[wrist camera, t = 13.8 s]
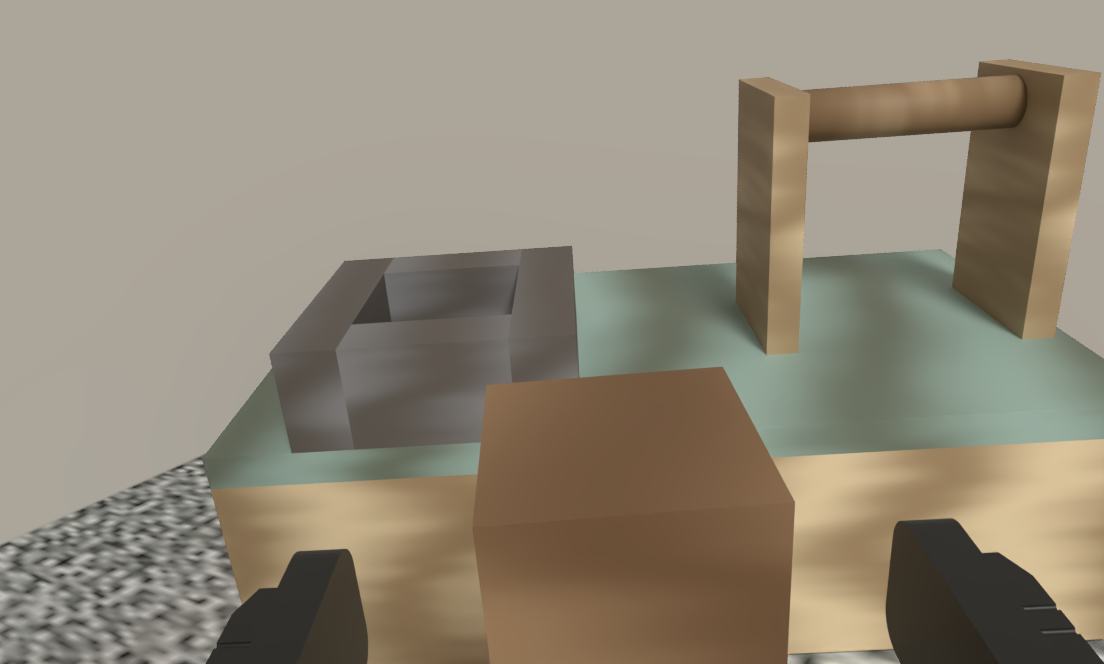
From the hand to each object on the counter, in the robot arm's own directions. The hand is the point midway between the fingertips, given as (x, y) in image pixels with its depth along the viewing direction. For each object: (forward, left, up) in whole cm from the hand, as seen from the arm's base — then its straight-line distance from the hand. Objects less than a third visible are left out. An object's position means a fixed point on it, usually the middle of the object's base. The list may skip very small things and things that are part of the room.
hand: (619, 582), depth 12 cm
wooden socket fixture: (+2, +17, -11) cm, 20 cm away
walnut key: (0, -2, -10) cm, 11 cm away
